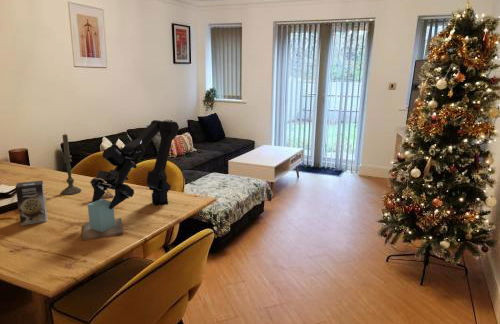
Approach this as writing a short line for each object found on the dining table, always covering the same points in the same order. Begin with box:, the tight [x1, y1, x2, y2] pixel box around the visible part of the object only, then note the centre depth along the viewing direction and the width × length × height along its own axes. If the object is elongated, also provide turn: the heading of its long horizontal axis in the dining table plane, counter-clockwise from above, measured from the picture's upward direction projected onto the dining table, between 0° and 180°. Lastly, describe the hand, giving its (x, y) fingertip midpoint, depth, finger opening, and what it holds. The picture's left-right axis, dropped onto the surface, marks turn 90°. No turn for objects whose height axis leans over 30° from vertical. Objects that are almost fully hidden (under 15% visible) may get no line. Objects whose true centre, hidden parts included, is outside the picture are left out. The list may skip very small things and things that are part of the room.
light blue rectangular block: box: [87, 199, 116, 232], centre depth 135 cm, size 6×6×10 cm
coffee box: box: [15, 180, 48, 226], centre depth 141 cm, size 9×6×16 cm
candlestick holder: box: [61, 133, 82, 196], centre depth 174 cm, size 9×9×30 cm
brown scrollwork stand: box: [98, 178, 115, 200], centre depth 169 cm, size 9×4×12 cm, turn 119°
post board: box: [81, 217, 124, 241], centre depth 136 cm, size 14×14×5 cm
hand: (101, 206), depth 134 cm, fingers open, 9 cm apart
